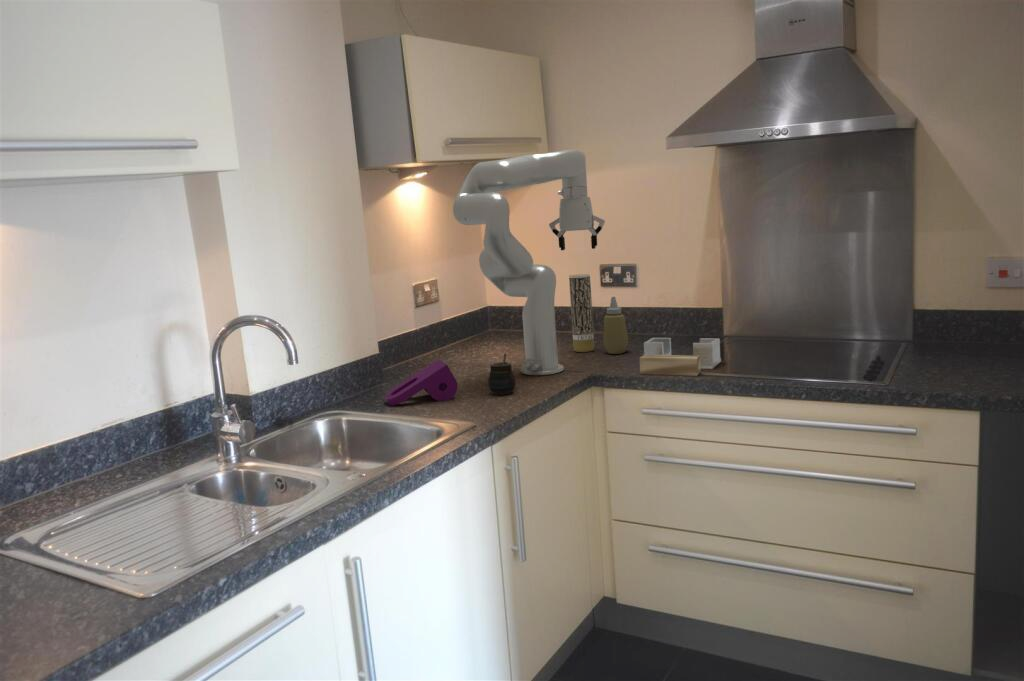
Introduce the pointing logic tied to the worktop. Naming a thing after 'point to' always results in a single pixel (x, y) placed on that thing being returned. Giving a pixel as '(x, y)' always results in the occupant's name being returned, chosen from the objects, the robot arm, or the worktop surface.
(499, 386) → the mate gourd
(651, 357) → the rail
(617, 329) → the squeeze bottle
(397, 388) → the mounting bracket
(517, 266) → the robot arm
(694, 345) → the bracket
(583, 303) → the paper tube
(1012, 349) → the worktop surface
